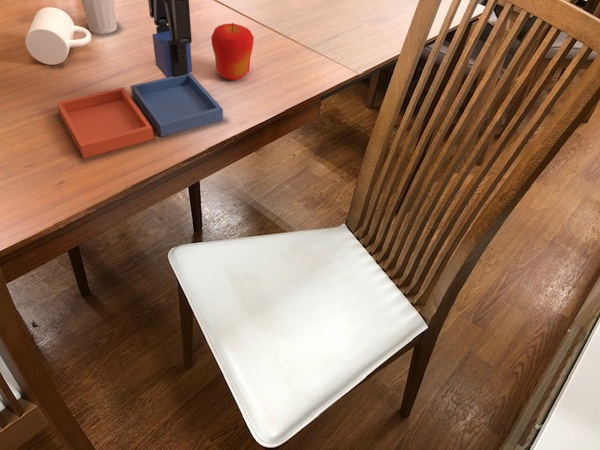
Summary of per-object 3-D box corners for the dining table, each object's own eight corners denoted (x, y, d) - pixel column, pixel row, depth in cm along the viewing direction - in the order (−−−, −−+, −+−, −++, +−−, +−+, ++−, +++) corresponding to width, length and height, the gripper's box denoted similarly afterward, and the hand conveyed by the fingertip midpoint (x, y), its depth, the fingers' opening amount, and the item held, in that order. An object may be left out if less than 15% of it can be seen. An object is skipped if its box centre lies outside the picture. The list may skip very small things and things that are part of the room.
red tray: (59, 114, 95) (56, 102, 93) (125, 98, 100) (123, 87, 98) (83, 158, 87) (80, 146, 85) (154, 139, 92) (152, 127, 91)
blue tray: (132, 97, 101) (130, 85, 99) (190, 83, 106) (190, 72, 105) (161, 137, 93) (159, 125, 91) (222, 120, 99) (222, 108, 97)
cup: (91, 18, 122) (80, -35, 113) (124, 21, 122) (116, -31, 114) (80, 33, 117) (67, -21, 108) (114, 37, 117) (105, -17, 108)
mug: (31, 65, 105) (19, 28, 100) (40, 42, 112) (30, 6, 106) (92, 65, 108) (84, 29, 102) (97, 43, 114) (90, 7, 108)
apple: (258, 71, 113) (260, 19, 104) (241, 88, 107) (242, 35, 98) (224, 60, 114) (223, 8, 106) (205, 77, 109) (203, 24, 100)
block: (155, 65, 94) (152, 34, 90) (181, 59, 96) (178, 29, 92) (166, 78, 91) (163, 46, 87) (192, 72, 93) (190, 41, 89)
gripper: (209, -55, 73) (214, 87, 90) (160, -92, 83) (173, 42, 100) (160, -50, 70) (174, 96, 87) (115, -89, 80) (136, 49, 97)
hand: (173, 67), depth 93 cm, fingers closed on block, 5 cm apart
